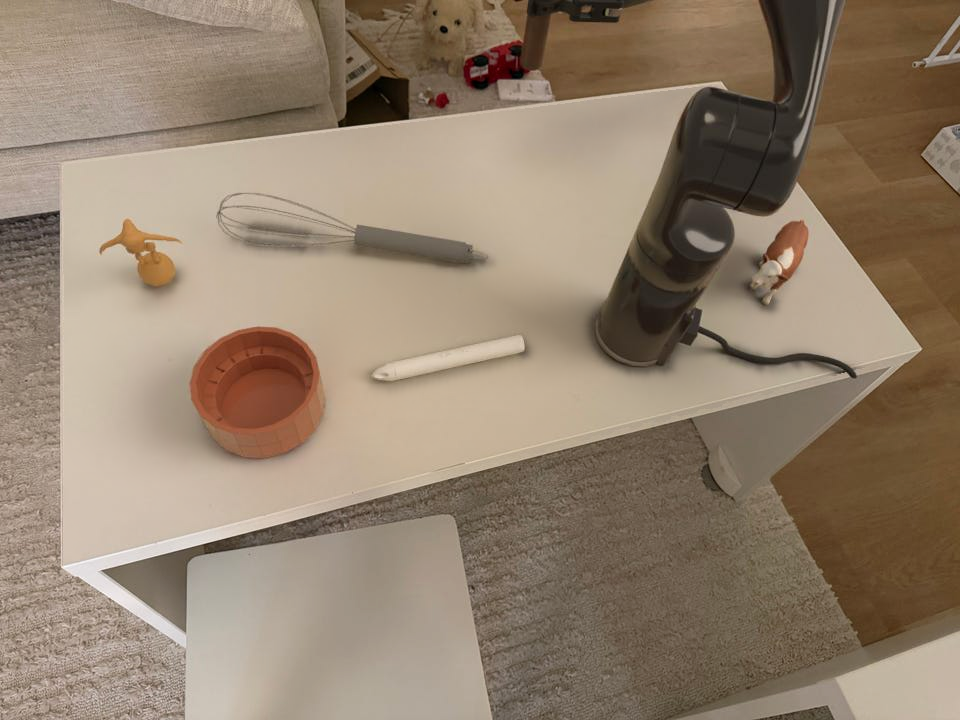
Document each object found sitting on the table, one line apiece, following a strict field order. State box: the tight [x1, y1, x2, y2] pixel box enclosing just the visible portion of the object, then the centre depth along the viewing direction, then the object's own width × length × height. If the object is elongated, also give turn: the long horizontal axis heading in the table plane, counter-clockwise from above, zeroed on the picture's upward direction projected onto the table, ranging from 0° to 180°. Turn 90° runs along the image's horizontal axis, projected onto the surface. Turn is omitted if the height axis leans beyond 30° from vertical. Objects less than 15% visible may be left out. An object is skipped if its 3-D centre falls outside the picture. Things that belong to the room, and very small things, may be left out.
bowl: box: [189, 325, 326, 459], centre depth 69 cm, size 12×12×6 cm
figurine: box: [98, 218, 183, 287], centre depth 74 cm, size 8×6×12 cm
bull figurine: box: [748, 219, 809, 306], centre depth 85 cm, size 4×13×8 cm, turn 143°
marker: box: [370, 334, 526, 382], centre depth 76 cm, size 18×2×2 cm, turn 108°
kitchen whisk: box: [215, 192, 489, 264], centre depth 82 cm, size 6×34×6 cm, turn 86°
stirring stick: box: [519, 13, 552, 72], centre depth 80 cm, size 3×3×11 cm
